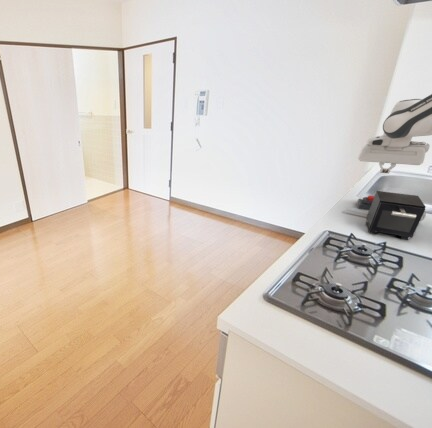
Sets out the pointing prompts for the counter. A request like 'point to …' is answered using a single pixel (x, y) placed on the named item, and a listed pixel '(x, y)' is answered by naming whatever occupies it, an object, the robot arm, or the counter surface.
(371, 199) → the release button
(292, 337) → the counter surface
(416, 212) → the oven door
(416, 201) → the oven
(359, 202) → the release box
